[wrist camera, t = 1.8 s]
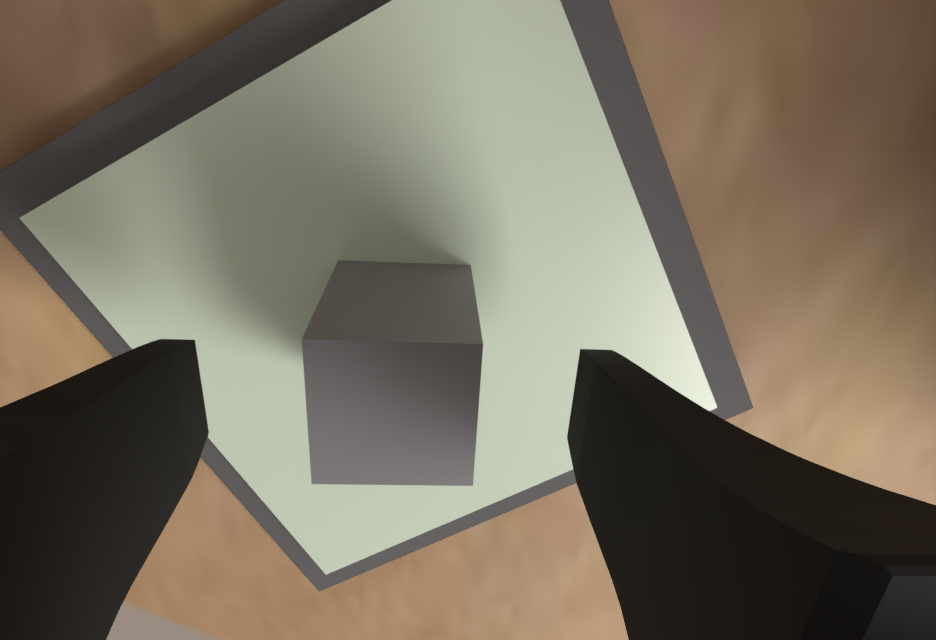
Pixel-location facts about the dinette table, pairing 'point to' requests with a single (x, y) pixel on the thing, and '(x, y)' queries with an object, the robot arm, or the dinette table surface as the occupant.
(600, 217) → the sheet
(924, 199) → the dinette table surface
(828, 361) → the dinette table surface
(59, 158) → the mat
